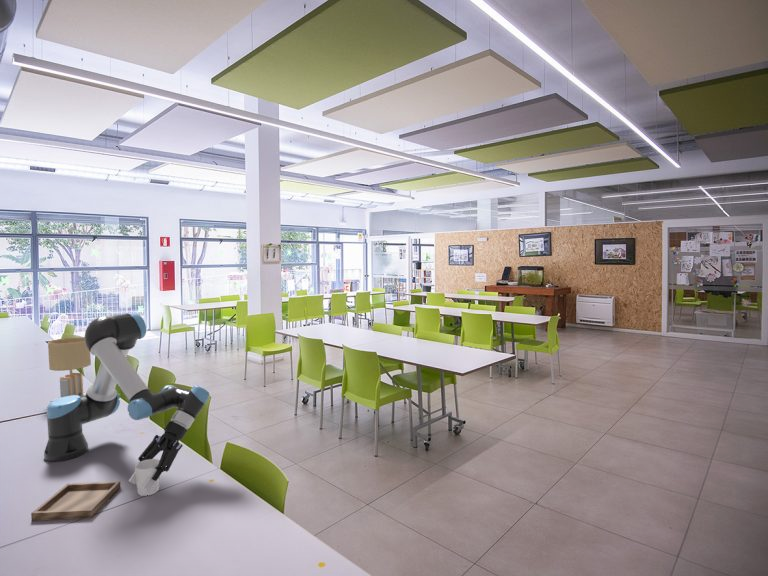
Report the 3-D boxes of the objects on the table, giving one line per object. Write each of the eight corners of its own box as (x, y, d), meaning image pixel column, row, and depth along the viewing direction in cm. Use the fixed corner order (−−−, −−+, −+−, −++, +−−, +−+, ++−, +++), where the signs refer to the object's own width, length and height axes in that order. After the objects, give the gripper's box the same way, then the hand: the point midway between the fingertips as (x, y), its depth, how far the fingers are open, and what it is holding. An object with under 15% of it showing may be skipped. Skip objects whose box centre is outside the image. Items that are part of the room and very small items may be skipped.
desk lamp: (77, 406, 242) (73, 344, 240) (42, 406, 243) (38, 343, 240) (100, 395, 262) (97, 337, 259) (68, 395, 262) (65, 337, 259)
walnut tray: (31, 520, 138) (31, 513, 137) (67, 490, 155) (67, 483, 155) (91, 517, 139) (91, 510, 139) (120, 488, 157) (120, 481, 157)
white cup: (135, 499, 150) (134, 471, 149) (136, 488, 157) (135, 461, 156) (161, 493, 153) (160, 466, 153) (160, 483, 160) (159, 457, 160)
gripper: (203, 435, 162) (164, 497, 149) (168, 424, 172) (129, 482, 159) (190, 426, 157) (148, 489, 144) (155, 415, 167) (114, 474, 154)
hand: (138, 485), depth 152 cm, fingers closed on white cup, 8 cm apart
